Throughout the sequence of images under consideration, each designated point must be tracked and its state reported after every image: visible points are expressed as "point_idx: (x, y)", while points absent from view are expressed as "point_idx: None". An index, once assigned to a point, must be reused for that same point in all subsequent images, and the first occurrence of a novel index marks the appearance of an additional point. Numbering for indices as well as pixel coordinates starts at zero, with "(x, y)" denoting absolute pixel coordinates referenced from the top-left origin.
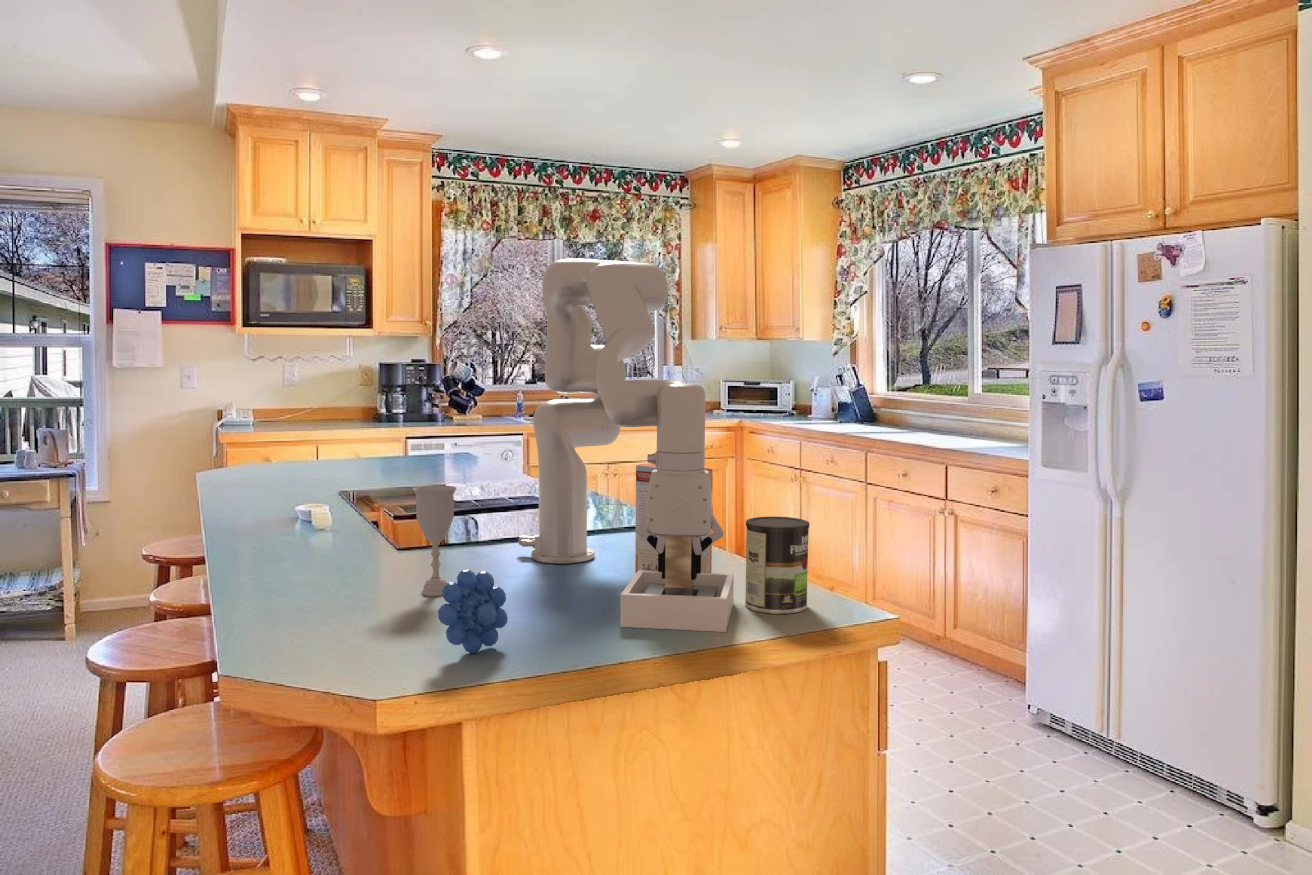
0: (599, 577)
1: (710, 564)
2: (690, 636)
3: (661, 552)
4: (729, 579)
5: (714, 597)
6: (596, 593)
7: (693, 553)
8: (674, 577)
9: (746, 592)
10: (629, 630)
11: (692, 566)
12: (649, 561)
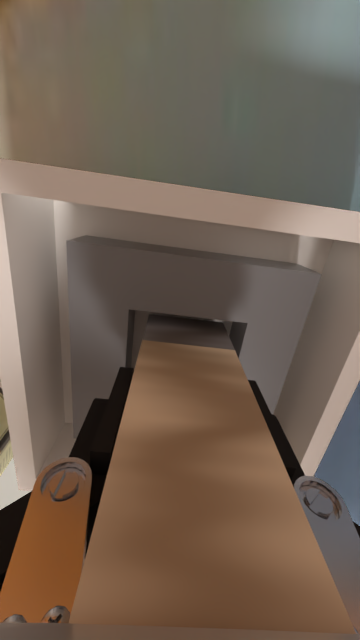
0: None
1: None
2: (146, 117)
3: (299, 482)
4: (19, 439)
5: (26, 186)
6: (349, 472)
7: (103, 478)
8: (205, 367)
9: (2, 429)
10: (328, 183)
11: (121, 403)
12: None
